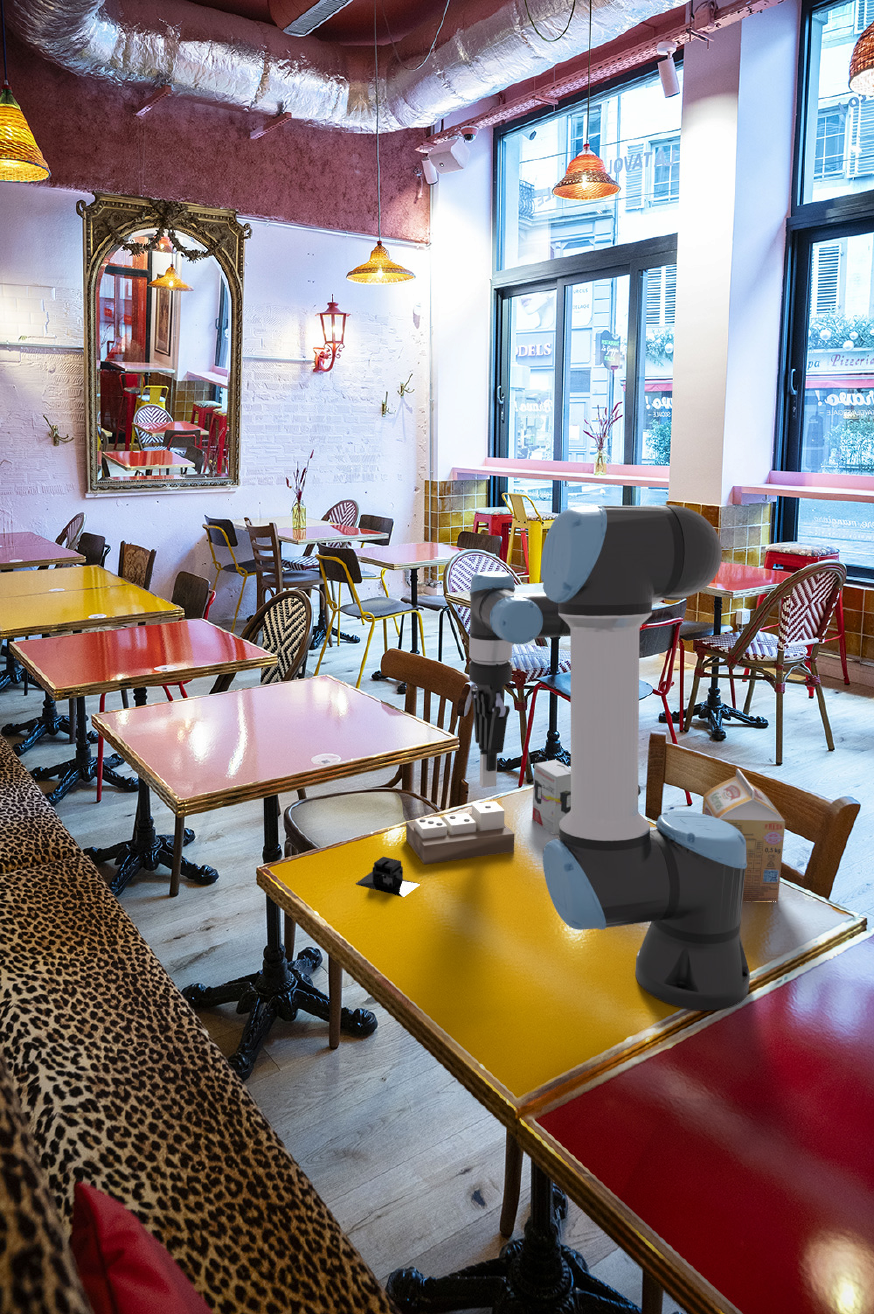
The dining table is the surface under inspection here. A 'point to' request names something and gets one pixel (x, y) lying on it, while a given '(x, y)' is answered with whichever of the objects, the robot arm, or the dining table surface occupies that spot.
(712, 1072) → the dining table surface
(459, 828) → the tile two
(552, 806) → the ink box
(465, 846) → the board
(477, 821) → the tile one
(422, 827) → the tile three
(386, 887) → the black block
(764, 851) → the milk carton
